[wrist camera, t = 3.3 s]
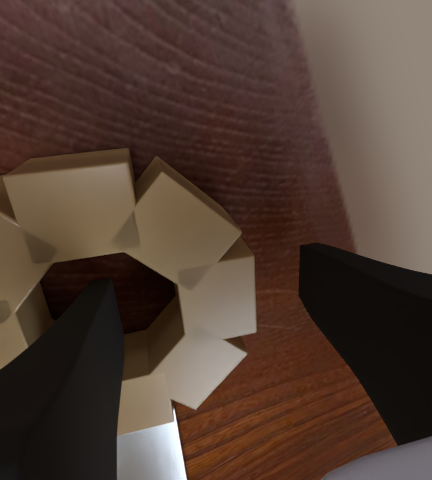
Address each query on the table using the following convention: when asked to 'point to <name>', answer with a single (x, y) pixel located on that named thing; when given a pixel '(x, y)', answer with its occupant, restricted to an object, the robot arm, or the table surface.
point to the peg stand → (152, 453)
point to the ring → (142, 249)
